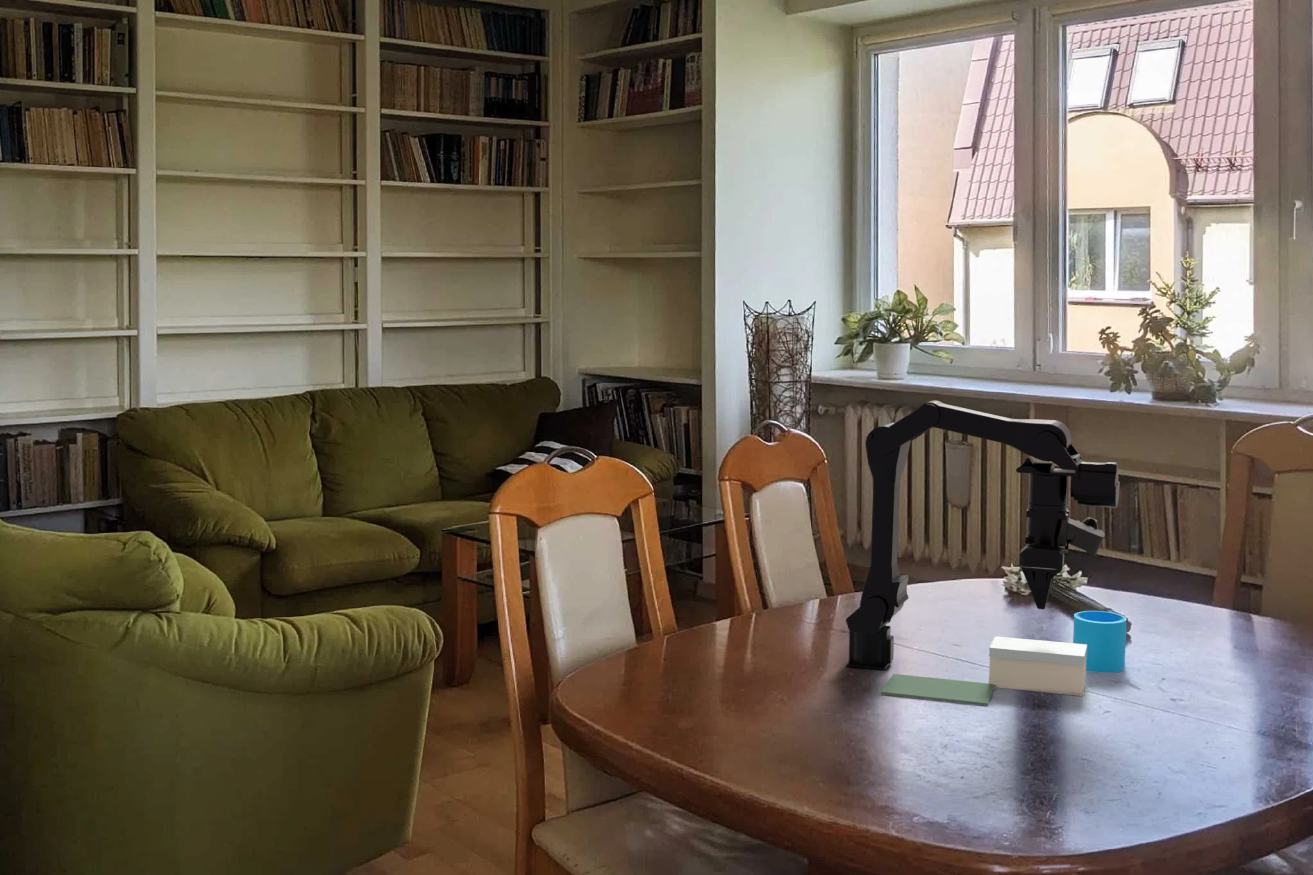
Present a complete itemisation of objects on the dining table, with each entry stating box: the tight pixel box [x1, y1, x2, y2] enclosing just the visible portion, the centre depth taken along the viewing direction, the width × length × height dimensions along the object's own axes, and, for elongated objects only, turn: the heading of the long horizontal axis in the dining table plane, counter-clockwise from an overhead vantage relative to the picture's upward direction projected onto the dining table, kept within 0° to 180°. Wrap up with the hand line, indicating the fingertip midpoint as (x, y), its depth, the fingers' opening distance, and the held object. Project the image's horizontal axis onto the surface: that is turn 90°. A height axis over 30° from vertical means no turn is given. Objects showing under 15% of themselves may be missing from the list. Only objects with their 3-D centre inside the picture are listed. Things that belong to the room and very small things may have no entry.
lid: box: [988, 635, 1087, 665], centre depth 208 cm, size 14×7×2 cm, turn 69°
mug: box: [1072, 610, 1127, 674], centre depth 221 cm, size 12×8×8 cm
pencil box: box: [988, 655, 1087, 697], centre depth 208 cm, size 14×6×5 cm, turn 69°
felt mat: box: [880, 673, 997, 707], centre depth 207 cm, size 16×10×1 cm, turn 69°
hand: (1043, 602), depth 208 cm, fingers open, 9 cm apart
